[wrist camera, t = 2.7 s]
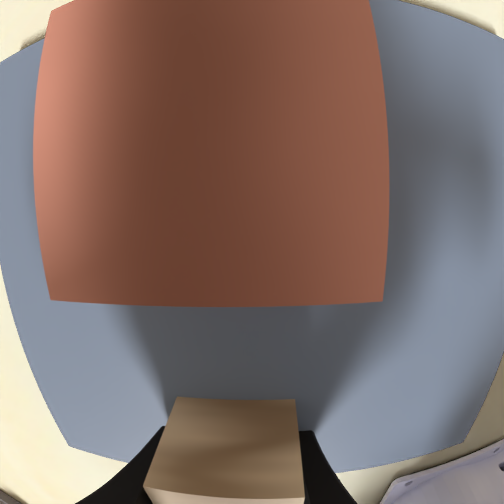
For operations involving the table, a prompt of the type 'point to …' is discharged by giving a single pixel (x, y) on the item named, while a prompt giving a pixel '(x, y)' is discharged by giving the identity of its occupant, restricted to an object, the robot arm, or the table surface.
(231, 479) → the maple cube
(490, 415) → the table surface
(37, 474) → the table surface
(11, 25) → the table surface
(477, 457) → the robot arm
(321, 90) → the base block
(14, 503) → the frame
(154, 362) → the board
